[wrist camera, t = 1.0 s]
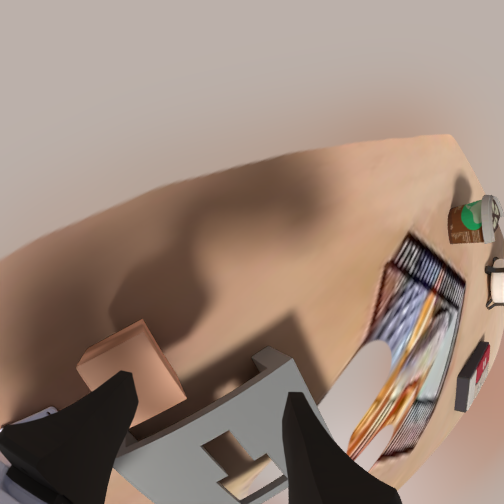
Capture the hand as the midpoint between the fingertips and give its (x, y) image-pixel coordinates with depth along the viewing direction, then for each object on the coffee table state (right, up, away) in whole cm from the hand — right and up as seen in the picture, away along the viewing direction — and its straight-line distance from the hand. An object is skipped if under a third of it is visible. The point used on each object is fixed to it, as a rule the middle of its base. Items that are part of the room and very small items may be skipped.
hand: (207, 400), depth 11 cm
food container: (+40, +13, +31) cm, 53 cm away
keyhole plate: (-1, -12, +12) cm, 17 cm away
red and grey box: (+54, -23, +35) cm, 68 cm away
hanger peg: (-8, -2, +10) cm, 13 cm away
